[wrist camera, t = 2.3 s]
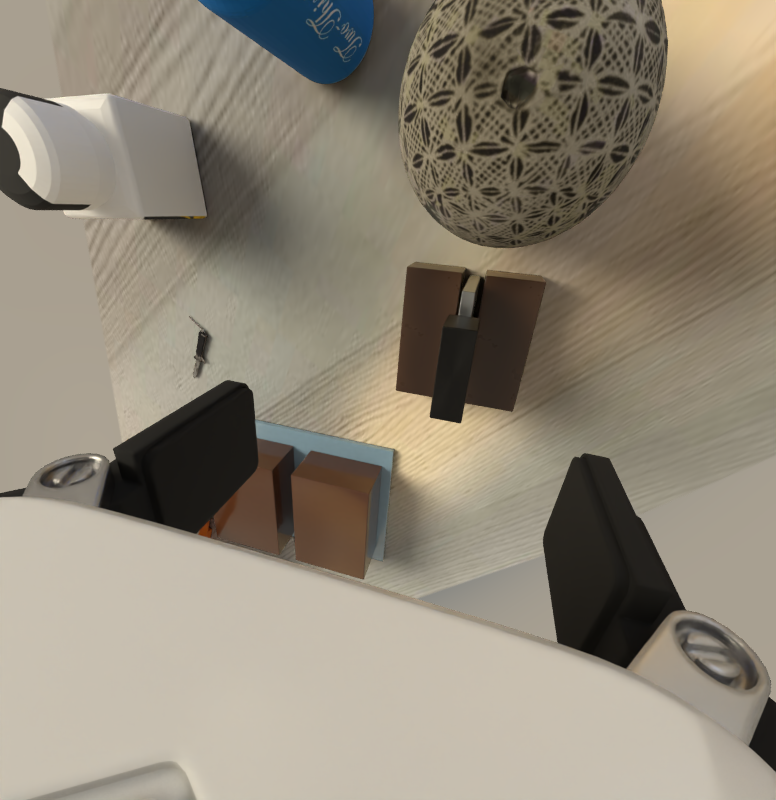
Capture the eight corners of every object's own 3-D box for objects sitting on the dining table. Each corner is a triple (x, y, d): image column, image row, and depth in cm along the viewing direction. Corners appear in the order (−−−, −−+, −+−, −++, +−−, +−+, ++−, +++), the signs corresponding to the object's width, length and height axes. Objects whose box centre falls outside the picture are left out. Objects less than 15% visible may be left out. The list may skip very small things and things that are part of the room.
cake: (394, 449, 38) (380, 479, 34) (383, 558, 45) (371, 594, 41) (221, 412, 42) (189, 434, 38) (237, 518, 49) (212, 547, 45)
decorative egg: (656, 131, 23) (863, 22, 10) (501, 274, 28) (501, 325, 15) (529, -32, 21) (575, -420, 8) (392, 153, 27) (291, 98, 14)
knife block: (542, 275, 28) (546, 282, 25) (511, 396, 32) (512, 412, 30) (415, 261, 30) (407, 266, 27) (403, 377, 34) (395, 390, 32)
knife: (180, 366, 41) (201, 381, 41) (176, 367, 41) (198, 382, 40) (190, 315, 38) (214, 331, 37) (186, 316, 37) (210, 332, 37)
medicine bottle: (142, 217, 34) (-14, 219, 24) (117, 121, 31) (-76, 75, 21) (209, 218, 32) (73, 220, 22) (190, 117, 29) (21, 64, 19)
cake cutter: (488, 276, 29) (483, 304, 20) (468, 383, 33) (456, 444, 24) (462, 273, 29) (446, 299, 20) (445, 379, 33) (426, 437, 25)
